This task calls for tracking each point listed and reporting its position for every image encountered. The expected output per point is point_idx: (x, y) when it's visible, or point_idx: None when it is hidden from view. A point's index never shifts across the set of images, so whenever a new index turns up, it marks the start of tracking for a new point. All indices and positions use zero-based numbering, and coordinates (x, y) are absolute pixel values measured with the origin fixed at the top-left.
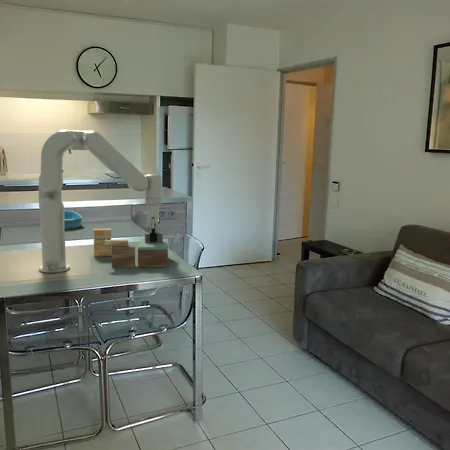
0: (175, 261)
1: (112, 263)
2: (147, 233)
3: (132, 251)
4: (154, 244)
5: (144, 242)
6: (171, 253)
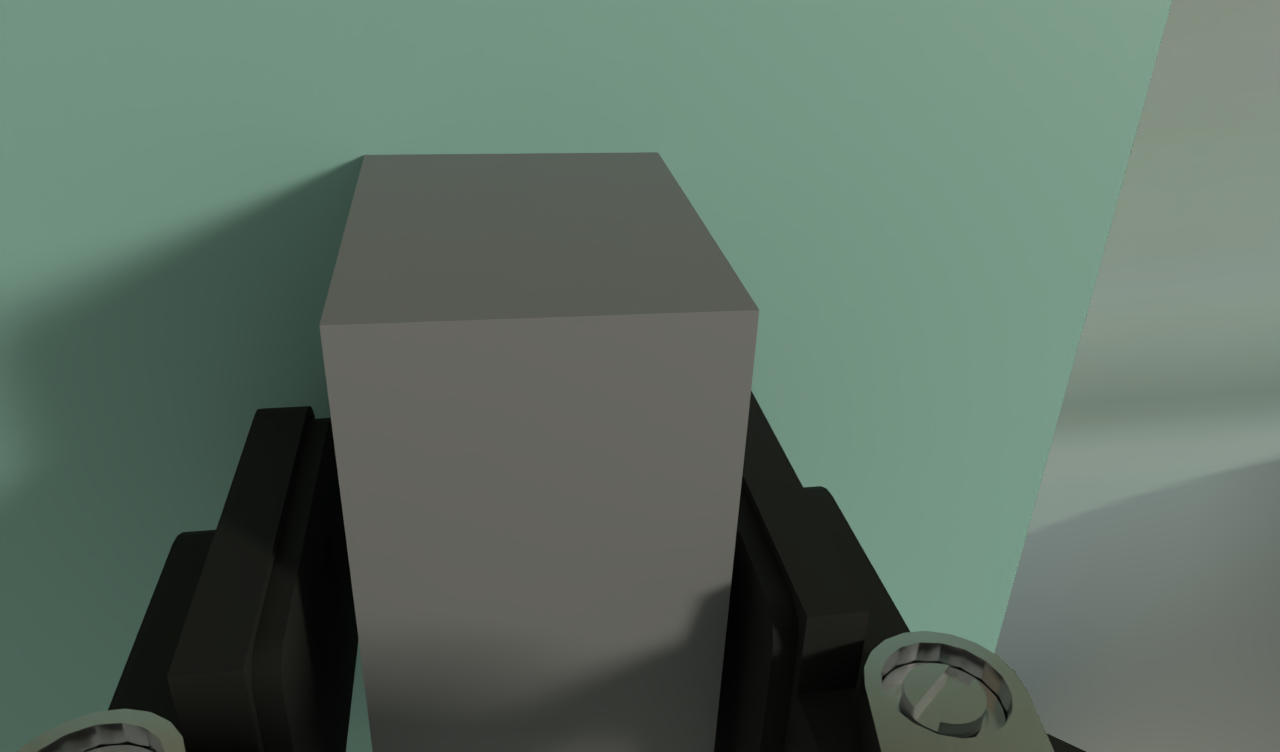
0: None
1: None
2: (524, 454)
3: None
4: (31, 545)
5: (386, 130)
6: (1091, 497)
